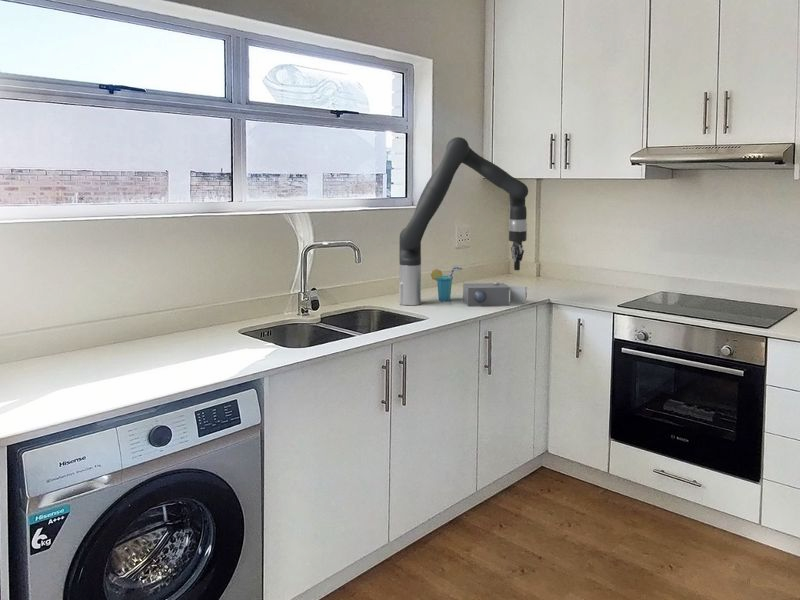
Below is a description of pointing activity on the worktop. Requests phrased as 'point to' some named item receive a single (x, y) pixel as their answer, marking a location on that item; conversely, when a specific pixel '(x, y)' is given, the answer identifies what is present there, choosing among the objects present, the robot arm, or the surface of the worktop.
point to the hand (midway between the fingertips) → (516, 270)
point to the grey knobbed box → (486, 294)
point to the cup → (443, 284)
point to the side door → (518, 293)
